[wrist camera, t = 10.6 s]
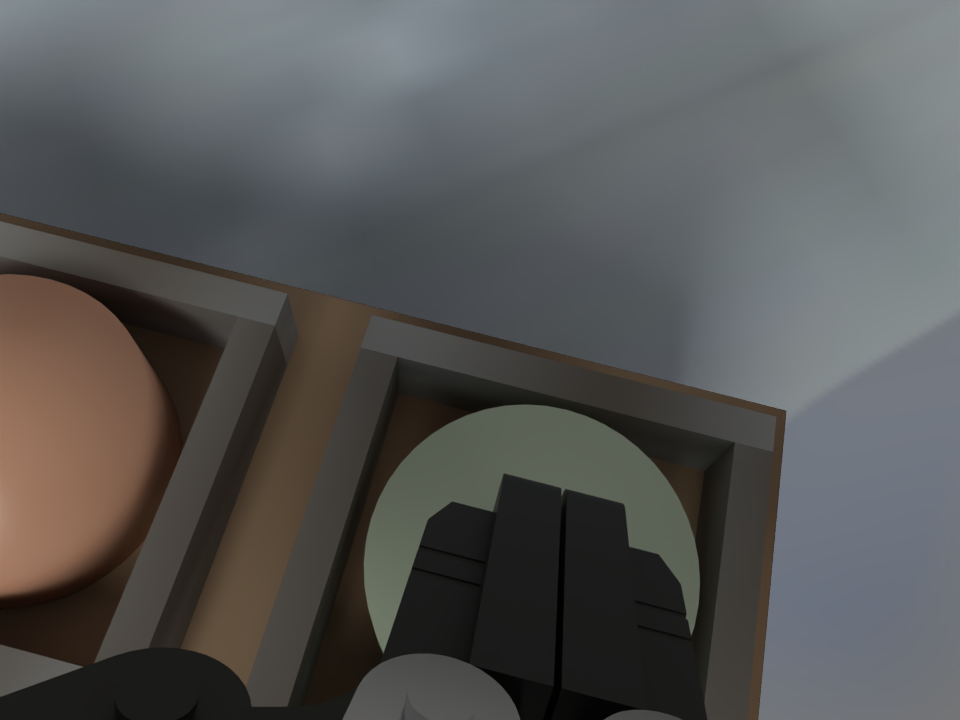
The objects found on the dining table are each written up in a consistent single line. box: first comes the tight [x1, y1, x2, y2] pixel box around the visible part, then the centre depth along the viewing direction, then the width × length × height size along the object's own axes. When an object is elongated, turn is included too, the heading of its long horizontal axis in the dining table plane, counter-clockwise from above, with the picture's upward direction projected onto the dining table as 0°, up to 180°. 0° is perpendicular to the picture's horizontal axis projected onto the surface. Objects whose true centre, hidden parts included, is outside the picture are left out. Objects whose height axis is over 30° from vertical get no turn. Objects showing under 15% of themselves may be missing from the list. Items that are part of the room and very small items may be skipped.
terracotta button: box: [0, 274, 182, 609], centre depth 13 cm, size 5×5×2 cm
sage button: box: [364, 405, 700, 654], centre depth 12 cm, size 5×5×2 cm
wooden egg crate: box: [0, 213, 786, 720], centre depth 16 cm, size 24×8×9 cm, turn 76°
